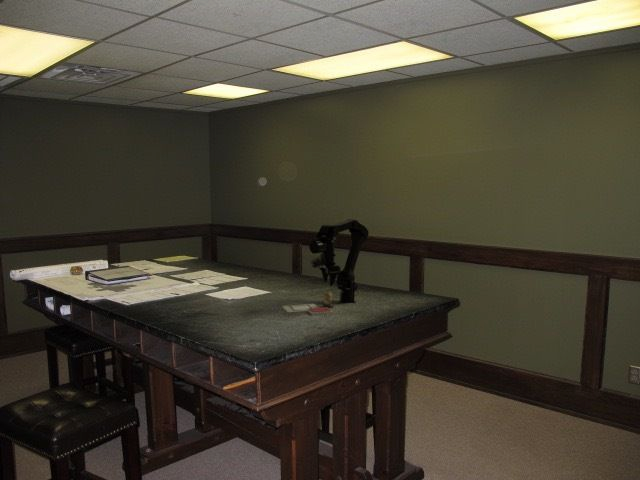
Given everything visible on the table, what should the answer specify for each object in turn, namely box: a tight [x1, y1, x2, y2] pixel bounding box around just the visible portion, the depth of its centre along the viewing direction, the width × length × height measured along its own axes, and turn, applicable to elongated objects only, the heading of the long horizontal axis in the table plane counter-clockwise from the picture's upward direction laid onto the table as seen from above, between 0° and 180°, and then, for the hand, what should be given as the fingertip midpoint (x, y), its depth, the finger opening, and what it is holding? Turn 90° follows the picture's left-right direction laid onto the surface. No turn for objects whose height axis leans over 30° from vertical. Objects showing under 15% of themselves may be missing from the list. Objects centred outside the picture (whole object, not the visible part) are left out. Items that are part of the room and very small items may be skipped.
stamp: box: [322, 291, 334, 309], centre depth 243 cm, size 5×5×8 cm
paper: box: [281, 303, 320, 314], centre depth 240 cm, size 16×12×1 cm
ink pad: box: [306, 306, 334, 316], centre depth 233 cm, size 10×8×2 cm
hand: (328, 283), depth 242 cm, fingers open, 9 cm apart
